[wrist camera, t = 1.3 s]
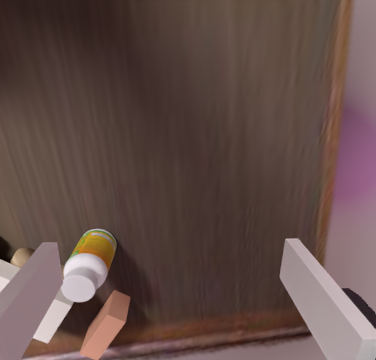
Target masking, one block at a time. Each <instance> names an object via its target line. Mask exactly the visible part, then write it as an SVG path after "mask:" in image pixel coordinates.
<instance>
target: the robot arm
mask: <svg viewBox="0 0 376 360" xmlns="http://www.w3.org/2000/svg"><path fill="white" fill-rule="evenodd" d="M279 278H280V279H281V281H282V283H283V284H284V286H285V288H286V290H287V291H288V293H289V295H290V297H291V298H292V300H293V302H294V304H295V305H296V307H297V309H298V310H299V312H300V314H301V316H302V317H303V319H304V321H305V323H306V324H307V326H308V328H309V330H310V331H311V333H312V335H313V336H314V338H315V340H316V342H317V343H318V345H319V347H320V349H321V350H322V352H323V354H324V355H325V357H326V359H327V360H376V314H375V312H374V311H373V310H372V309H371V308H370V307H368V304H366V302H365V301H364V300H363V299H362V298H361V297H360V296H359V295H358V294H356V293H355V292H353V291H352V290H350V289H349V288H343V289H341V288H340V287H339V286H338V285H337V283H336V282H335V281H334V280H333V279H332V278H331V276H330V275H329V274H328V273H327V272H326V271H325V269H324V268H323V267H322V266H321V265H320V264H319V262H318V261H317V260H316V259H315V258H314V257H313V255H312V254H311V253H310V252H309V251H308V250H307V248H306V247H305V246H304V245H303V244H302V242H301V241H300V240H299V239H285V245H284V251H283V258H282V264H281V270H280V277H279ZM62 284H63V277H62V271H61V265H60V259H59V252H58V246H57V242H43V243H42V244H41V245H40V246H39V247H38V249H37V250H36V251H35V252H34V253H33V255H32V256H31V257H30V258H29V259H28V260H27V262H26V263H25V264H24V265H23V266H22V268H21V269H20V270H19V271H18V272H17V273H16V275H15V276H14V277H13V278H12V279H11V280H10V282H9V283H8V284H7V285H6V286H5V288H4V289H3V290H2V291H1V292H0V360H20V359H21V357H22V355H23V354H24V352H25V350H26V348H27V347H28V345H29V343H30V341H31V339H32V338H33V336H34V334H35V332H36V331H37V329H38V327H39V325H40V323H41V322H42V320H43V318H44V316H45V315H46V313H47V311H48V309H49V307H50V306H51V304H52V302H53V300H54V299H55V297H56V295H57V293H58V291H59V290H60V288H61V286H62Z"/></svg>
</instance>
